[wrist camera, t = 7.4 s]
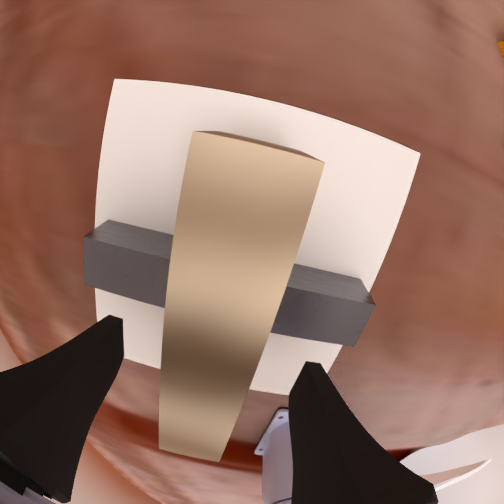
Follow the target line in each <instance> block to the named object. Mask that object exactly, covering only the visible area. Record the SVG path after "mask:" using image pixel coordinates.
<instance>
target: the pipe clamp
mask: <svg viewBox="0 0 504 504" xmlns="http://www.w3.org/2000/svg"><path fill="white" fill-rule="evenodd" d="M497 43H498V45H499V47H500V50H501V52H502V54H503V57H504V41H501V42H497Z"/></svg>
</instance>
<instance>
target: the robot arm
mask: <svg viewBox="0 0 504 504" xmlns="http://www.w3.org/2000/svg"><path fill="white" fill-rule="evenodd" d="M123 358H124V337H123V319H122V318H119V317H115V316H112V315H108V316H106V317H105V318H103V319H101V320H100V321H99V322H97V323H96V324H94V325H93V326H91V327H90V328H88V329H87V330H85V331H84V332H82V333H81V334H79V335H78V336H76V337H75V338H73V339H71V340H70V341H68V342H67V343H65V344H63V345H62V346H60V347H58V348H56V349H55V350H53V351H51V352H49V353H48V354H46V355H44V356H42V357H40V358H37V359H35V360H33V361H31V362H28V363H26V364H23V365H20V366H18V367H15V368H12V369H9V370H6V371H3V372H0V504H55V503H53V502H51V501H50V500H48V499H46V498H44V497H43V495H44V496H46V497H48V498H50V499H52V498H53V499H55V500H57V501H59V502H61V503H67V502H69V501H71V494H72V489H73V484H74V479H75V474H76V470H77V467H78V463H79V459H80V455H81V452H82V449H83V446H84V443H85V440H86V437H87V434H88V431H89V429H90V426H91V424H92V421H93V419H94V417H95V415H96V413H97V411H98V409H99V407H100V406H101V404H102V402H103V400H104V398H105V396H106V394H107V393H108V391H109V389H110V387H111V385H112V383H113V381H114V380H115V378H116V376H117V373H118V371H119V368H120V366H121V363H122V360H123ZM254 453H255V454H257V455H263V472H262V498H263V501H264V503H265V504H437V503H438V499H437V495H436V492H435V489H434V486H433V484H432V483H430V482H429V481H427V480H425V479H423V478H422V477H420V476H418V475H417V474H415V473H413V472H412V471H411V470H409V469H408V468H406V467H405V466H404V465H402V464H401V463H400V462H399V461H397V460H396V459H395V458H394V457H392V456H391V455H390V454H389V453H388V452H387V451H386V450H385V449H384V448H382V447H381V446H380V445H379V444H378V443H377V442H376V441H375V439H374V438H373V437H372V436H371V435H370V434H369V433H368V432H367V431H366V430H365V428H364V427H363V426H362V425H361V424H360V422H359V421H358V420H357V418H356V417H355V416H354V414H353V413H352V412H351V410H350V409H349V407H348V406H347V405H346V403H345V402H344V400H343V399H342V397H341V396H340V394H339V393H338V391H337V389H336V388H335V386H334V385H333V383H332V381H331V380H330V378H329V376H328V375H327V373H326V371H325V370H324V368H323V367H322V365H321V363H316V362H309V361H306V362H305V364H304V366H303V368H302V370H301V372H300V374H299V375H298V377H297V379H296V381H295V383H294V385H293V387H292V389H291V391H290V393H289V409H280V410H278V411H277V412H276V414H275V416H274V418H273V420H272V421H271V423H270V425H269V427H268V428H267V430H266V432H265V433H264V435H263V437H262V439H261V440H260V442H259V444H258V445H257V447H256V449H255V451H254Z"/></svg>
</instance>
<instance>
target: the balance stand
mask: <svg viewBox="0 0 504 504" xmlns="http://www.w3.org/2000/svg"><path fill="white" fill-rule="evenodd" d="M193 131H221V132H226V133H231V134H236V135H240V136H245V137H249V138H253V139H258V140H262V141H266V142H270V143H274V144H278V145H282V146H285V147H289V148H293V149H296V150H300V151H302V152H304V153H306V154H309V155H311V156H313V157H315V158H317V159H319V160H321V161H323V162H325V165H324V168H323V172H322V175H321V178H320V182H319V185H318V189H317V192H316V195H315V199H314V202H313V205H312V208H311V212H310V215H309V218H308V221H307V225H306V228H305V231H304V234H303V237H302V240H301V243H300V247H299V250H298V253H297V256H296V259H295V262H294V265H293V268H292V271H291V274H290V277H289V280H288V283H287V286H286V289H285V292H284V294H283V297H282V300H281V303H280V306H279V309H278V312H277V315H276V317H275V320H274V323H273V326H272V329H271V331H270V334H269V337H268V340H267V342H266V345H265V348H264V351H263V353H262V356H261V359H260V361H259V364H258V367H257V369H256V372H255V375H254V377H253V380H252V382H251V385H250V388H249V389H251V390H257V391H263V392H270V393H276V394H284V395H289V393H290V391H291V389H292V387H293V385H294V383H295V381H296V379H297V377H298V375H299V374H300V372H301V370H302V368H303V366H304V364H305V362H306V361H309V362H316V363H321V365H322V367H323V368H324V370H325V371H326V373H328V371H329V369H330V367H331V366H332V364H333V362H334V360H335V359H336V357H337V355H338V353H339V351H340V349H341V348H342V346H343V345H346V346H353V347H354V345H355V344H356V342H357V340H358V338H359V336H360V334H361V333H362V331H363V329H364V327H365V325H366V323H367V321H368V319H369V317H370V315H371V313H372V311H373V309H374V307H375V303H374V301H373V299H372V298H371V296H370V294H369V292H370V289H371V287H372V285H373V283H374V281H375V278H376V276H377V274H378V271H379V269H380V267H381V264H382V262H383V260H384V257H385V255H386V252H387V250H388V247H389V245H390V242H391V240H392V237H393V235H394V232H395V229H396V227H397V224H398V221H399V219H400V216H401V213H402V210H403V207H404V205H405V202H406V199H407V196H408V193H409V190H410V187H411V184H412V180H413V177H414V174H415V171H416V167H417V164H418V160H419V157H420V153H418V152H416V151H414V150H412V149H410V148H407V147H405V146H403V145H401V144H398V143H396V142H394V141H391V140H389V139H386V138H384V137H382V136H379V135H377V134H374V133H372V132H369V131H366V130H364V129H361V128H358V127H356V126H353V125H350V124H347V123H344V122H342V121H339V120H336V119H333V118H330V117H327V116H323V115H320V114H317V113H314V112H310V111H307V110H304V109H300V108H297V107H293V106H289V105H286V104H282V103H278V102H274V101H270V100H266V99H261V98H257V97H253V96H248V95H243V94H238V93H233V92H228V91H223V90H217V89H211V88H205V87H198V86H191V85H184V84H175V83H166V82H156V81H144V80H128V79H115V80H114V84H113V88H112V93H111V97H110V102H109V107H108V112H107V117H106V123H105V129H104V135H103V141H102V148H101V156H100V164H99V173H98V183H97V195H96V211H95V229H94V230H92V231H91V232H89V233H88V234H86V235H85V236H84V237H83V248H84V279H85V285H88V286H91V287H94V288H95V297H96V312H97V322H99V321H100V320H101V319H103V318H105V317H106V316H108V315H112V316H115V317H119V318H122V319H123V337H124V358H126V359H129V360H132V361H135V362H139V363H142V364H145V365H148V366H152V367H155V368H159V369H161V351H162V337H163V324H164V313H165V302H166V292H167V283H168V274H169V266H170V258H171V251H172V243H173V236H174V229H175V223H176V216H177V210H178V204H179V198H180V192H181V187H182V181H183V176H184V171H185V165H186V160H187V155H188V150H189V146H190V141H191V136H192V132H193Z"/></svg>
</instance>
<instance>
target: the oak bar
mask: <svg viewBox="0 0 504 504" xmlns="http://www.w3.org/2000/svg"><path fill="white" fill-rule="evenodd" d="M324 165H325V162H323V161H321V160H319V159H317V158H315V157H313V156H311V155H309V154H306V153H304V152H302V151H300V150H296V149H293V148H289V147H285V146H282V145H278V144H274V143H270V142H266V141H262V140H258V139H253V138H249V137H245V136H240V135H236V134H231V133H226V132H221V131H193V132H192V136H191V141H190V146H189V150H188V155H187V160H186V165H185V171H184V176H183V181H182V187H181V192H180V198H179V204H178V210H177V216H176V223H175V229H174V236H173V243H172V251H171V258H170V266H169V274H168V283H167V292H166V302H165V313H164V324H163V337H162V351H161V369H160V394H159V449H162V450H166V451H170V452H174V453H178V454H182V455H186V456H191V457H196V458H200V459H205V460H211V461H216V462H219V461H220V459H221V456H222V454H223V452H224V449H225V447H226V445H227V442H228V440H229V437H230V435H231V433H232V430H233V428H234V425H235V423H236V420H237V418H238V415H239V413H240V410H241V408H242V405H243V403H244V400H245V398H246V395H247V393H248V390H249V388H250V385H251V382H252V380H253V377H254V375H255V372H256V369H257V367H258V364H259V361H260V359H261V356H262V353H263V351H264V348H265V345H266V342H267V340H268V337H269V334H270V331H271V329H272V326H273V323H274V320H275V317H276V315H277V312H278V309H279V306H280V303H281V300H282V297H283V294H284V292H285V289H286V286H287V283H288V280H289V277H290V274H291V271H292V268H293V265H294V262H295V259H296V256H297V253H298V250H299V247H300V243H301V240H302V237H303V234H304V231H305V228H306V225H307V221H308V218H309V215H310V212H311V208H312V205H313V202H314V199H315V195H316V192H317V189H318V185H319V182H320V178H321V175H322V172H323V168H324Z"/></svg>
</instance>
